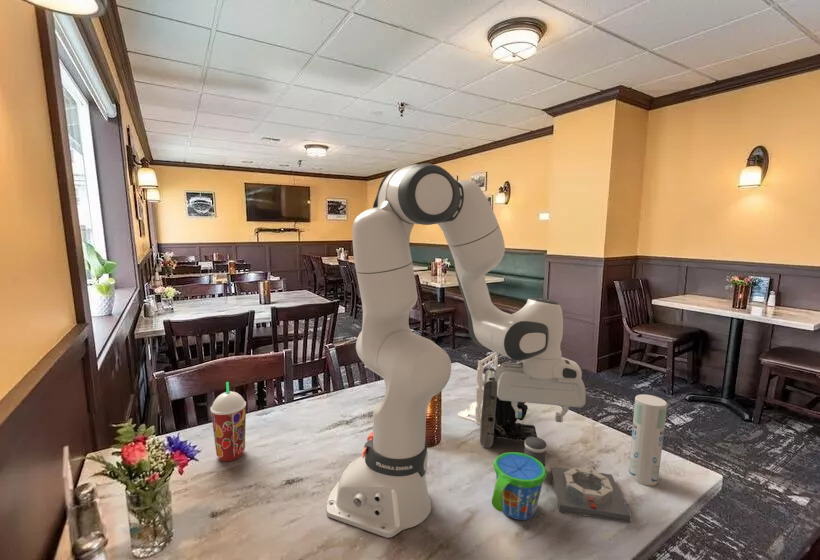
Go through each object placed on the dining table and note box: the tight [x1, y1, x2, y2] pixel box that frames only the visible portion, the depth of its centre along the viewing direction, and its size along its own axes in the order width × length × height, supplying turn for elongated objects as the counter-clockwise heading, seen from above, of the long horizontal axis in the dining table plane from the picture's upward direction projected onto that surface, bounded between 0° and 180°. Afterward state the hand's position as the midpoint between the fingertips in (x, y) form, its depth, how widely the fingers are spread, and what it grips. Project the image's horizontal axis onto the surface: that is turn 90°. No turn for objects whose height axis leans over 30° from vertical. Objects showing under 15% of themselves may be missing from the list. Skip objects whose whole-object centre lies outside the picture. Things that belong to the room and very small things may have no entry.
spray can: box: [628, 393, 668, 486], centre depth 95 cm, size 6×6×20 cm
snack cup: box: [491, 451, 547, 521], centre depth 84 cm, size 16×10×10 cm
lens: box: [523, 436, 547, 468], centre depth 97 cm, size 5×5×8 cm
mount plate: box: [549, 466, 632, 523], centre depth 90 cm, size 14×14×4 cm
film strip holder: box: [457, 351, 499, 426], centre depth 126 cm, size 14×14×20 cm
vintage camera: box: [479, 367, 538, 449], centre depth 110 cm, size 10×16×20 cm, turn 79°
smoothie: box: [209, 381, 247, 462], centre depth 102 cm, size 8×8×20 cm
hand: (538, 419), depth 96 cm, fingers open, 8 cm apart
